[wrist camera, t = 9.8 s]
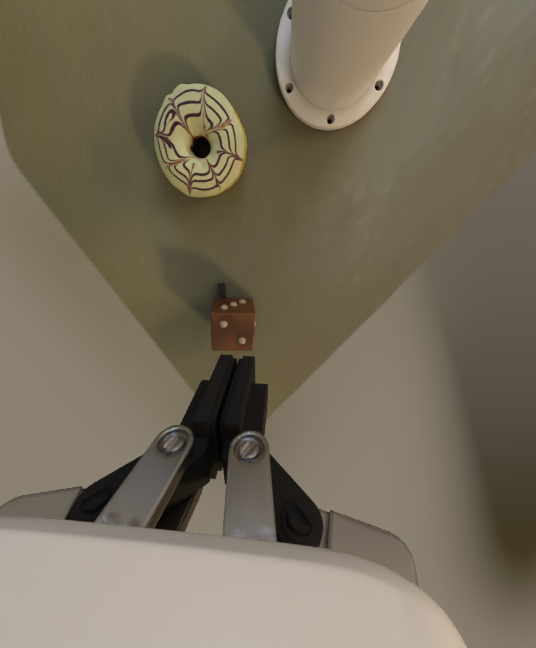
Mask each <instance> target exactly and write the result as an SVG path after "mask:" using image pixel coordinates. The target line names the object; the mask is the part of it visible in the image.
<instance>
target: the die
mask: <svg viewBox="0 0 536 648" xmlns="http://www.w3.org/2000/svg"><path fill="white" fill-rule="evenodd" d="M255 326H256V322H255V310H254V304H253V299H236V298H214V302H213V306H212V310H211V338H212V350H253V343H254V327H255Z"/></svg>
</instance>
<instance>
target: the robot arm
mask: <svg viewBox="0 0 536 648" xmlns="http://www.w3.org/2000/svg"><path fill="white" fill-rule="evenodd" d="M428 1H429V0H288V2H287V4H286V6H285V9H284V12H283V15H282V17H281V20H280V24H279V29H278V34H277V40H276V53H275V55H276V70H277V78H278V83H279V86H280V90H281V93H282V95H283V98H284V100H285V102H286V104H287V106H288V107H289V109H290V110H291V111H292V113H293V114H294V115H295V116H296V117H297V118H298V119H299V120H300V121H301V122H303V123H304V124H306V125H308V126H310V127H312V128H315V129H319V130H329V131H331V130H337V129H342V128H344V127H346V126H349V125H351V124H353V123H354V122H356V121H357V120H359V119H360V118H362V117H363V116H364V115H365V114H366V113H367V112H368V111H369V110H370V109H371V108H372V107H373V106H374V104H375V103H376V102H377V101H378V99H379V98H380V97H381V95H382V94H383V92H384V91H385V89H386V87H387V85H388V83H389V81H390V79H391V76H392V74H393V72H394V69H395V66H396V62H397V59H398V55H399V49H400V44H401V40H402V39H403V37H404V36H405V34H406V33H407V31H408V30H409V28H410V27H411V25H412V24H413V23H414V21H415V20H416V18H417V17H418V15H419V14H420V12H421V11H422V9H423V8H424V6H425V5H426V4H427V2H428ZM290 17H291V20H290V19H289V18H290ZM376 86H377V87H378V91H377V90H376V89H375V87H376ZM288 89H291V93H287V90H288ZM329 119H330V120H331V124H328V122H327V120H329ZM267 401H268V384H256V383H255V357H253V356H243V359H239V360H238V363H237V360H236V358H233V356H232V355H221V356H220V358H219V360H218V362H217V364H216V367H215V369H214V371H213V374H212V376H211V378H210V380H202V381H201V383H200V385H199V387H198V389H197V391H196V393H195V395H194V397H193V399H192V401H191V404H190V405H189V407H188V410H187V412H186V414H185V416H184V418H183V420H182V422H181V424H180V425H175V426H171V427H169V428H166V429H165V430H163V431H162V432H161V433H160V434H159V435H158V436H157V437H156V438H155V439H154V441H153V442H152V443H151V445H150V446H149V448H148V449H147V451H146V452H145V453H144V454H143V455H142V456H140V457H138V458H136V459H135V460H133V461H131V462H129V463H128V464H126V465H124V466H123V467H121V468H119V469H117V470H116V471H114V472H112V473H110V474H109V475H107V476H105V477H104V478H102V479H100V480H98V481H97V482H95V483H93V484H92V485H90V486H89V487H88V488H86V489H83V488H82V487H81V486H80V487H74V488H67V489H61V490H54V491H48V492H41V493H35V494H29V495H23V496H19V497H16V498H14V499H12V500H10V501H8V502H6V503H5V504H3V505H2V506H1V507H0V648H467V647H466V645H465V643H464V641H463V640H462V638H461V636H460V634H459V632H458V631H457V629H456V628H455V626H454V625H453V624H452V622H451V620H450V619H449V618H448V616H447V615H446V613H445V612H444V611H443V610H442V609H441V607H440V606H439V605H438V604H437V603H436V602H435V601H434V600H433V599H432V598H431V597H430V596H428V595H427V594H426V593H425V592H424V591H422V590H421V589H420V588H419V586H418V580H417V574H416V568H415V564H414V560H413V557H412V554H411V553H410V551H409V550H408V548H407V546H406V544H405V543H404V542H403V541H402V540H401V539H400V538H399V537H398V536H396V535H394V534H392V533H391V532H389V531H386V530H383V529H381V528H378V527H375V526H372V525H370V524H367V523H364V522H362V521H359V520H356V519H353V518H351V517H348V516H345V515H342V514H340V513H337V512H334V511H330V513H329V512H326V511H324V510H321V509H318V508H317V506H316V505H315V503H314V502H313V501H312V500H311V499H310V498H309V497H308V496H307V494H306V493H305V492H304V491H303V490H302V489H301V488H300V487H299V486H298V484H297V483H296V482H295V481H294V480H293V479H292V478H291V477H290V476H289V475H288V473H287V472H286V471H285V470H284V469H283V468H282V467H281V466H280V465H279V463H278V462H277V461H276V460H275V459H274V458H273V457H272V456H271V455H270V453H269V445H268V442H267V440H266V438H265V437H264V434H265V424H266V414H267ZM222 468H223V470H224V479H225V484H226V495H225V509H224V521H223V534H222V536H218V535H209V534H200V533H190V532H185V530H186V528H187V526H188V523H189V521H190V519H191V516H192V514H193V512H194V510H195V507H196V505H197V503H198V500H199V498H200V496H201V493H202V490H203V486H205V485H206V484H207V483H208V482H209V481H210V478H211V479H215V478H216V475H217V471H221V470H222Z"/></svg>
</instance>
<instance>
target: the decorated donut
mask: <svg viewBox="0 0 536 648" xmlns="http://www.w3.org/2000/svg"><path fill="white" fill-rule="evenodd" d="M200 137H205V138H206V139H207V140H208V141H209V143H210V145H211V151H210V153H209V155H208V156H207V157H206V158H198V157H196V156H195V155H194V153H193V147H194V143H195V141H196V140H197V139H198V138H200ZM154 143H155V150H156V155H157V158H158V161H159V163H160V166H161V168H162V170H163V172H164V174H165V175H166V177H167V178H168V180H169V181H170V182H171V183H172V184H173V185H174V186H175V187H176V188H178V189H179V190H180V191H182V192H183V193H184V194H186V195H187V196H190V197H198V198H201V197H212V196H216V195H218V194H221V193H223V192H224V191H225V190H227V189H229V188H230V187H231V186H232V185H233V184H234V183H235V182H236V181H237V180H238V178H239V176H240V175H241V172H242V170H243V166H244V163H245V159H246V151H247V141H246V136H245V133H244V129H243V127H242V125H241V122H240V119H239V118H238V115H237V113H236V112H235V110H234V109H233V107H232V106H231V104H230V103H229V101H228V100H227V99H226V98H225V97H224V96H223V94H221V93H220V92H219V91H218V90H216V89H214V88H212V87H210V86H208V85H204V84H188V85H186V84H180V85H178V86H177V87H176V88H175V89H174V91H173V93H172V94H169V95H167V96H166V97H165V100H164V102H163V105H162V108H161V109H160V111H159V114H158V116H157V119H156V122H155V129H154Z"/></svg>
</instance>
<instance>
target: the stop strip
mask: <svg viewBox="0 0 536 648" xmlns="http://www.w3.org/2000/svg"><path fill="white" fill-rule="evenodd" d="M219 293H220V298H226V292H225V283H219Z"/></svg>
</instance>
